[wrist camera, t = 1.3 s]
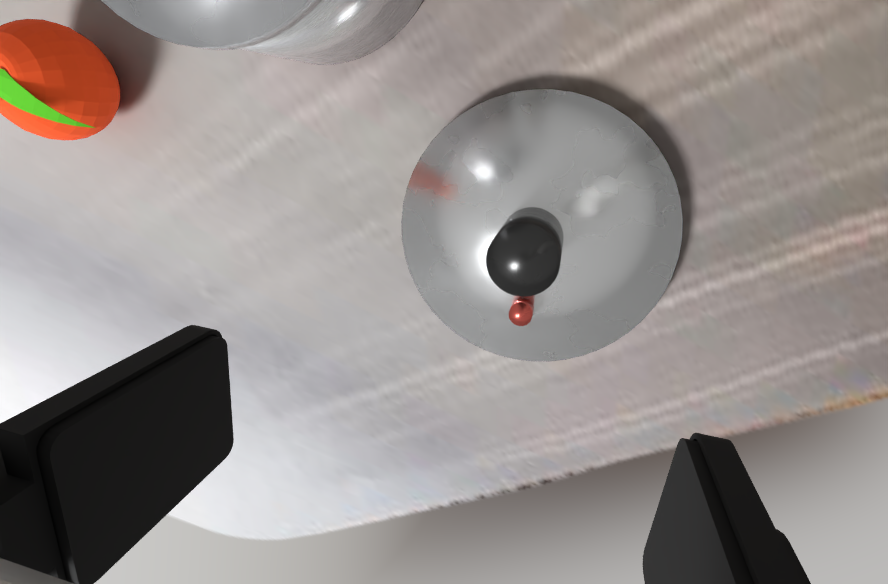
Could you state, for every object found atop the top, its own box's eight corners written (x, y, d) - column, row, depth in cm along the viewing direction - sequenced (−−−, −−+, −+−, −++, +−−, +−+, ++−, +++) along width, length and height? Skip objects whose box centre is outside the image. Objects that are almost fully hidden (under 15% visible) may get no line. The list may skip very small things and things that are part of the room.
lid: (712, 99, 25) (750, 96, 19) (644, 373, 30) (659, 432, 25) (412, 81, 28) (371, 73, 23) (403, 330, 34) (368, 373, 28)
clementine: (171, 81, 32) (67, 71, 26) (139, 167, 35) (38, 178, 28) (76, 6, 32) (-52, -22, 26) (52, 99, 35) (-68, 94, 28)
